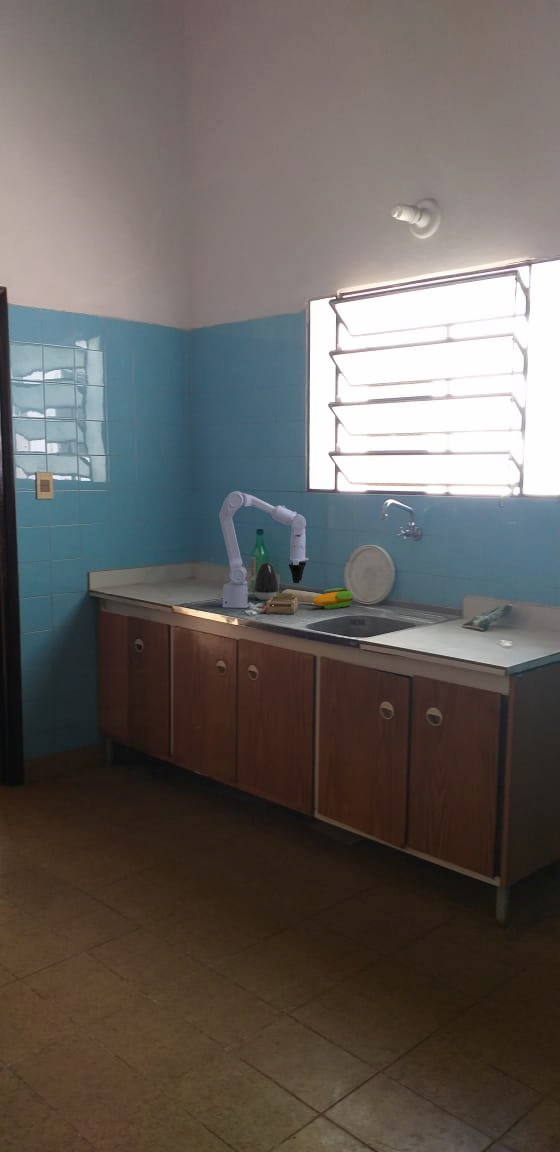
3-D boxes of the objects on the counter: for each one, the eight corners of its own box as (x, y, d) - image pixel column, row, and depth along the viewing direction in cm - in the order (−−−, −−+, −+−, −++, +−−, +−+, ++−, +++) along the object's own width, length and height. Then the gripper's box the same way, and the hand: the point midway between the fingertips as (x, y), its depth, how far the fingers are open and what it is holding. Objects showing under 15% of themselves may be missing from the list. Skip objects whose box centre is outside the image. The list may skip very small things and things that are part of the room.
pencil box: (293, 614, 334) (293, 603, 333) (266, 614, 335) (266, 602, 335) (297, 608, 350) (298, 597, 349) (271, 607, 351) (271, 596, 350)
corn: (357, 586, 354) (320, 591, 341) (358, 606, 355) (321, 611, 341) (343, 586, 360) (306, 590, 346) (344, 605, 360) (307, 610, 347)
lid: (290, 605, 334) (290, 598, 334) (270, 605, 335) (270, 597, 335) (294, 600, 348) (294, 592, 348) (274, 600, 349) (274, 592, 349)
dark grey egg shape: (280, 598, 377) (280, 561, 375) (277, 601, 366) (277, 563, 365) (255, 597, 378) (255, 560, 376) (252, 601, 367) (252, 563, 366)
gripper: (306, 548, 341) (305, 584, 343) (310, 545, 356) (309, 579, 357) (287, 547, 342) (287, 583, 344) (292, 544, 357) (291, 579, 358)
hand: (297, 581), depth 351 cm, fingers open, 7 cm apart
